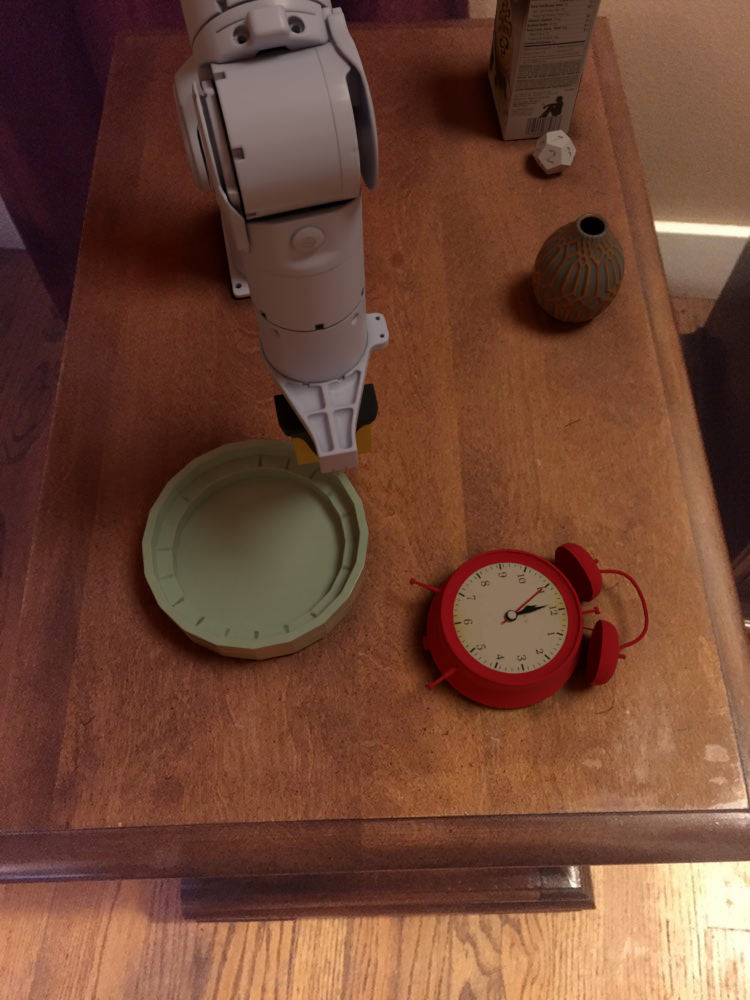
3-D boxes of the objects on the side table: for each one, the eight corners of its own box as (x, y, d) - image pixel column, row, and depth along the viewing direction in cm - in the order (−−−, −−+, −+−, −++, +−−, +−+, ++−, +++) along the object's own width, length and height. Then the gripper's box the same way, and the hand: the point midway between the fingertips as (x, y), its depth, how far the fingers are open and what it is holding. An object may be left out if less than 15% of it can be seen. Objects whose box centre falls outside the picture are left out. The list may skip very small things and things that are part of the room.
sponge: (297, 465, 54) (290, 431, 49) (290, 421, 55) (282, 384, 51) (372, 452, 54) (371, 417, 50) (363, 408, 55) (361, 371, 51)
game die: (523, 161, 74) (528, 134, 71) (556, 146, 75) (562, 118, 72) (546, 186, 73) (551, 159, 70) (579, 170, 74) (586, 142, 71)
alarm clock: (399, 556, 54) (626, 502, 52) (417, 583, 60) (622, 536, 58) (427, 713, 50) (676, 663, 48) (443, 726, 56) (667, 682, 53)
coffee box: (485, 75, 79) (506, -108, 64) (550, 69, 79) (587, -115, 65) (501, 143, 75) (528, -35, 61) (570, 136, 75) (614, -43, 61)
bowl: (147, 482, 61) (134, 460, 58) (347, 445, 62) (344, 421, 59) (166, 681, 55) (152, 669, 52) (388, 636, 56) (388, 621, 53)
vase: (607, 342, 66) (637, 268, 58) (521, 329, 66) (539, 254, 58) (614, 275, 69) (643, 196, 61) (532, 263, 69) (550, 183, 61)
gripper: (417, 393, 38) (410, 512, 50) (359, 166, 44) (366, 323, 56) (266, 420, 37) (297, 534, 50) (228, 187, 43) (264, 340, 56)
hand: (326, 423), depth 53 cm, fingers closed on sponge, 3 cm apart
